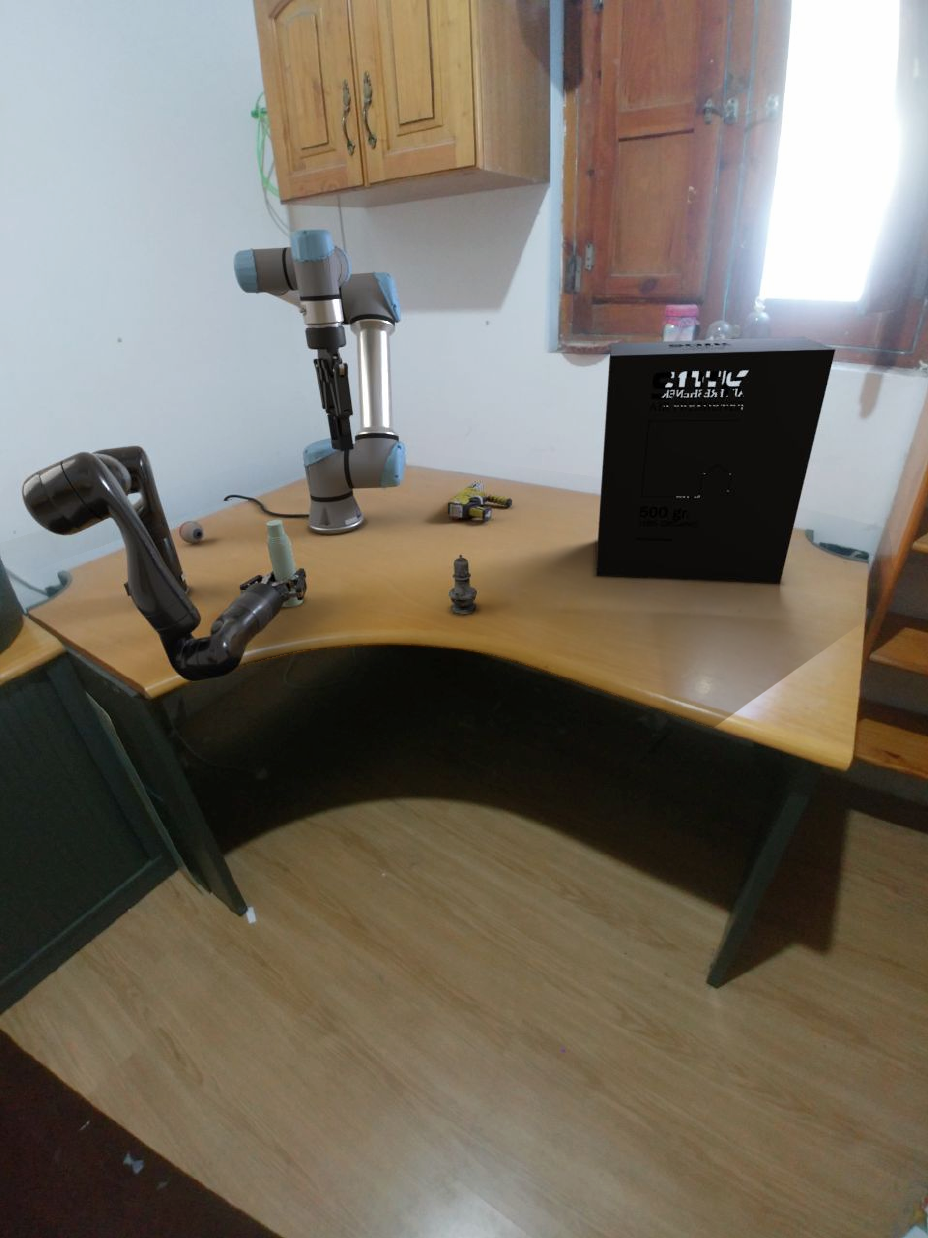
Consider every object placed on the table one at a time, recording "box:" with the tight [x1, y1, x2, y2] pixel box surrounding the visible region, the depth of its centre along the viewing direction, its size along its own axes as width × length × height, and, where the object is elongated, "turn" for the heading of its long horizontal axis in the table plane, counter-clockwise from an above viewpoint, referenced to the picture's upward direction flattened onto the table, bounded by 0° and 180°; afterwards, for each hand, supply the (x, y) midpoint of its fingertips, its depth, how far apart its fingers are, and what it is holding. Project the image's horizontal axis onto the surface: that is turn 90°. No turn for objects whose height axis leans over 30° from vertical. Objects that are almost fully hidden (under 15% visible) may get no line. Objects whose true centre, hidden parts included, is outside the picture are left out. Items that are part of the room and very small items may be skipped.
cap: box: [331, 436, 340, 450], centre depth 127 cm, size 4×4×2 cm
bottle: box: [265, 519, 304, 608], centre depth 126 cm, size 5×5×18 cm
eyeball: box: [178, 520, 205, 545], centre depth 161 cm, size 6×6×6 cm
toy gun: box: [446, 480, 513, 523], centre depth 174 cm, size 5×24×15 cm
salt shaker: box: [448, 554, 478, 615], centre depth 121 cm, size 6×6×12 cm
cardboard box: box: [595, 336, 836, 584], centre depth 127 cm, size 38×20×45 cm, turn 78°
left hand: (291, 571), depth 130 cm, fingers closed on bottle, 4 cm apart
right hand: (342, 447), depth 128 cm, fingers closed on cap, 4 cm apart
